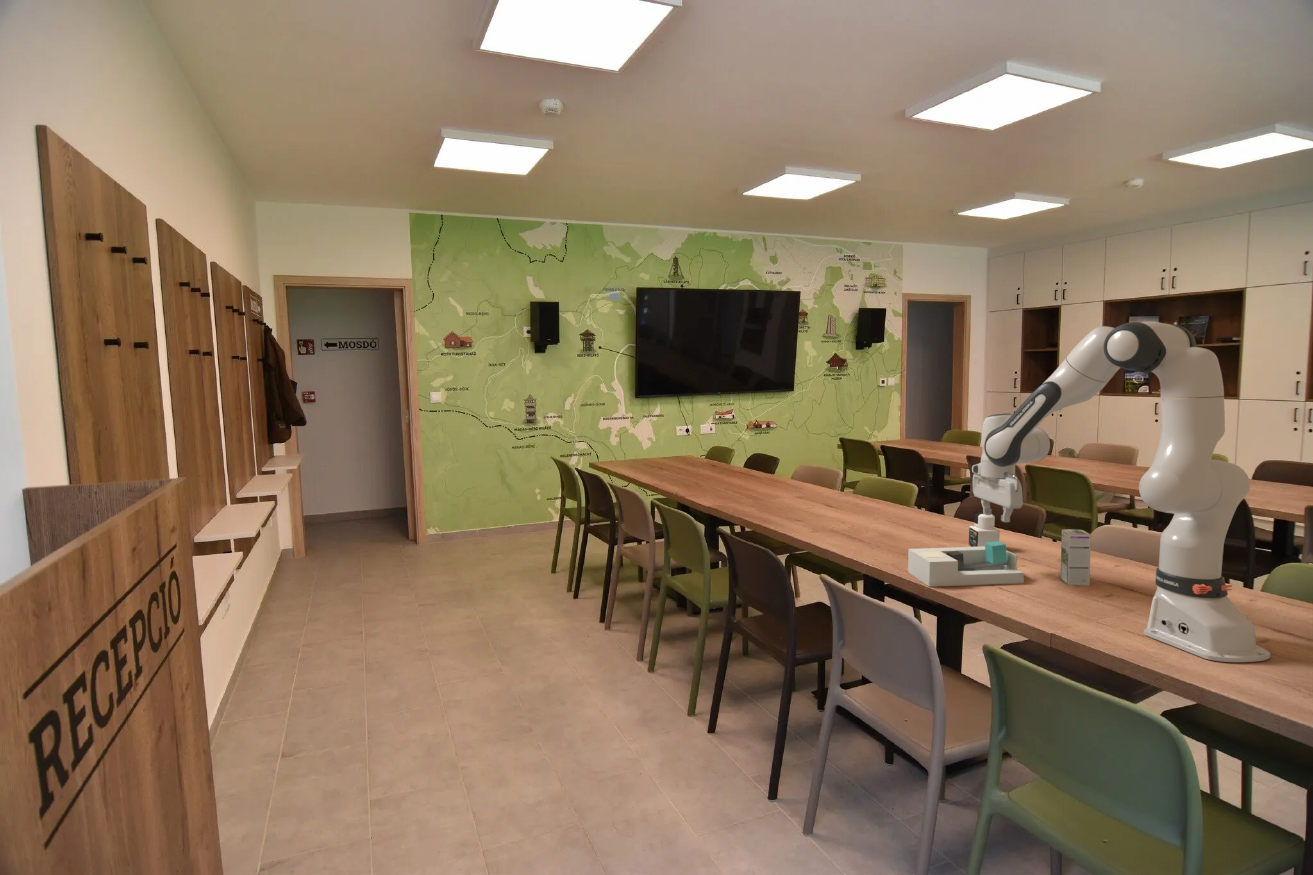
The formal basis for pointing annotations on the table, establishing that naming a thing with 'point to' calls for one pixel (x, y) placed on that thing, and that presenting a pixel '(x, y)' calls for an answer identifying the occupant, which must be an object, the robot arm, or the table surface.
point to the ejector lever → (970, 566)
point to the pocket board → (944, 569)
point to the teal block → (995, 552)
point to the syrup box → (1075, 557)
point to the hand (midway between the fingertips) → (996, 518)
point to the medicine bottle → (983, 530)
